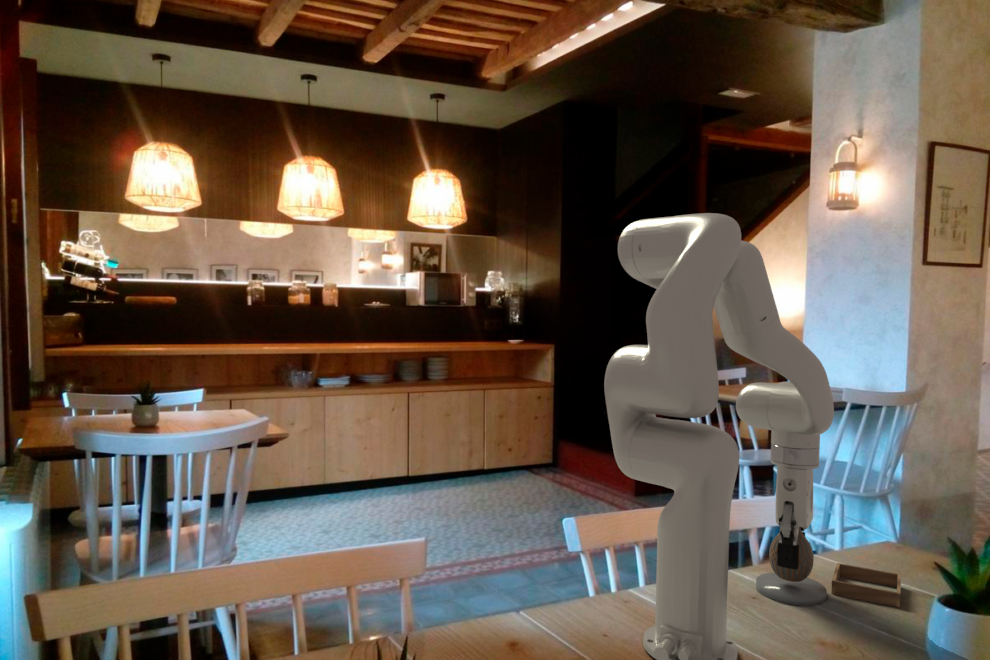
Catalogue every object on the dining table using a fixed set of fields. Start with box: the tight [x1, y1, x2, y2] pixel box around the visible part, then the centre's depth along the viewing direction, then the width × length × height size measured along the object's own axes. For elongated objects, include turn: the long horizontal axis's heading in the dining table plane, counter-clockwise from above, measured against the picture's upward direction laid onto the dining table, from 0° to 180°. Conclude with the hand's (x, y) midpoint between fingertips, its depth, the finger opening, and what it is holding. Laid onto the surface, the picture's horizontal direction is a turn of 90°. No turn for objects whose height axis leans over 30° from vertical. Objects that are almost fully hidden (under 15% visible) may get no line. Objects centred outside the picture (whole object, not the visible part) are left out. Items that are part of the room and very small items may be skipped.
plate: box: [755, 572, 828, 607], centre depth 119 cm, size 11×11×1 cm
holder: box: [830, 562, 902, 608], centre depth 120 cm, size 10×10×2 cm
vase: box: [768, 524, 815, 582], centre depth 118 cm, size 7×7×9 cm
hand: (791, 559), depth 118 cm, fingers open, 7 cm apart
